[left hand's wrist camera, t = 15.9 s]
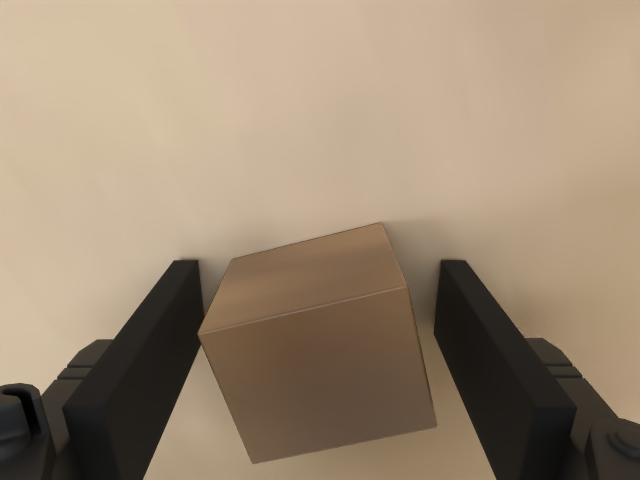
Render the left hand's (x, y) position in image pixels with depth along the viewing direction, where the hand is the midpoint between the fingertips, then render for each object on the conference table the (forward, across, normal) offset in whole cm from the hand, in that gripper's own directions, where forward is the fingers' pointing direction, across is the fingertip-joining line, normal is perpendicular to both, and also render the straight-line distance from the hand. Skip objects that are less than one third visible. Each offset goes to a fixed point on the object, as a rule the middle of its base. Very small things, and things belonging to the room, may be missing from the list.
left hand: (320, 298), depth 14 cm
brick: (0, 0, 0) cm, 0 cm away
